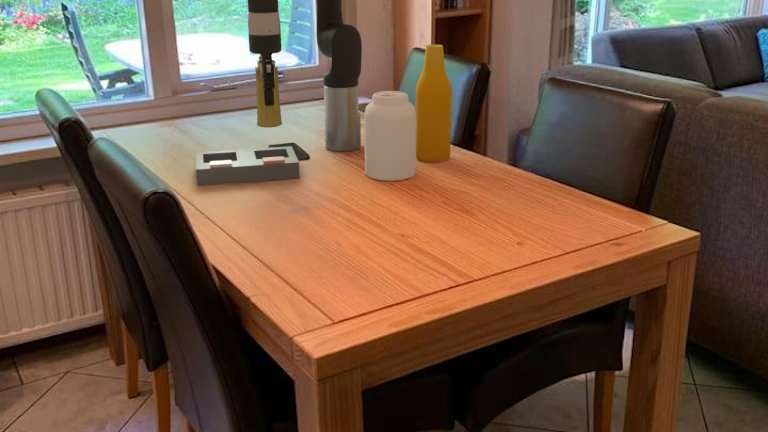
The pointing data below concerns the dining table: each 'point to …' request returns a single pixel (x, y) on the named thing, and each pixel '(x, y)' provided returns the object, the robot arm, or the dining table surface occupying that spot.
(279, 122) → the vase
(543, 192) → the dining table surface
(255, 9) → the robot arm
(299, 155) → the phone
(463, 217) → the dining table surface
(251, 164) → the socket block
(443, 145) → the beer bottle
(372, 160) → the white jar
